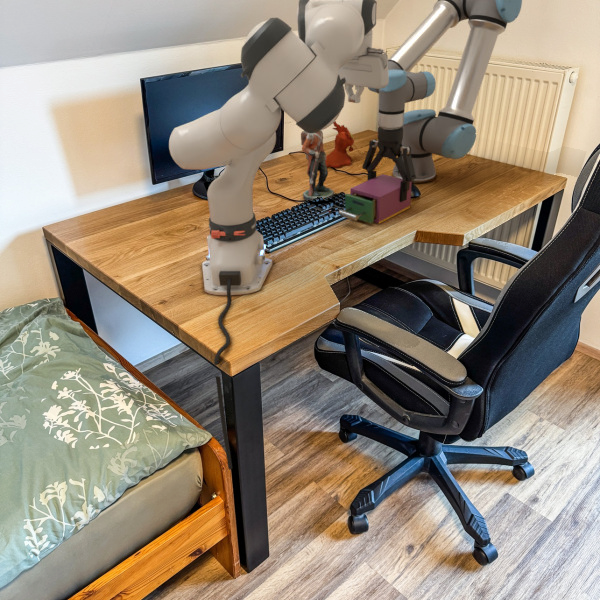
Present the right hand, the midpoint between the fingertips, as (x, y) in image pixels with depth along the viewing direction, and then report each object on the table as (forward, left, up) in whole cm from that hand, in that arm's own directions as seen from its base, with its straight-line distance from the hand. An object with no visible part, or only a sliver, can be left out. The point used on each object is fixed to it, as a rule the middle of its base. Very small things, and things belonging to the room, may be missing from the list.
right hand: (387, 196), depth 178 cm
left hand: (+16, -5, +32) cm, 36 cm away
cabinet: (+3, -1, -4) cm, 5 cm away
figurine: (+1, -24, -4) cm, 24 cm away
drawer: (+9, -3, -3) cm, 10 cm away
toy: (-34, -34, -4) cm, 49 cm away
